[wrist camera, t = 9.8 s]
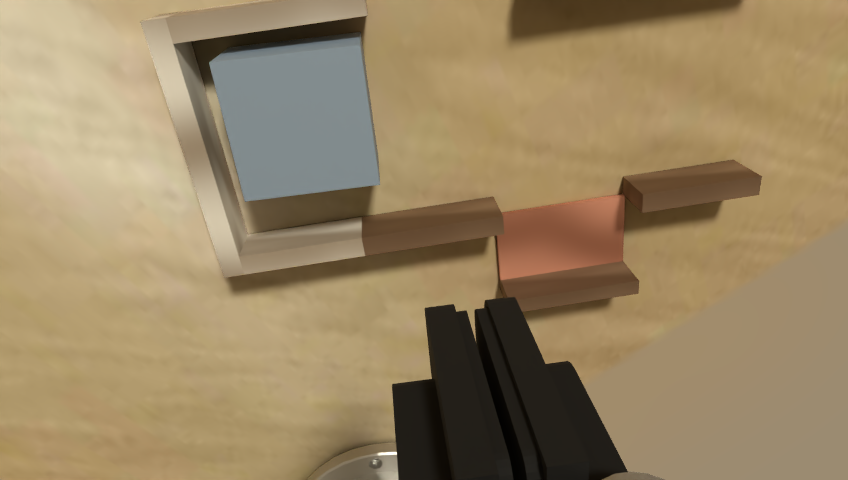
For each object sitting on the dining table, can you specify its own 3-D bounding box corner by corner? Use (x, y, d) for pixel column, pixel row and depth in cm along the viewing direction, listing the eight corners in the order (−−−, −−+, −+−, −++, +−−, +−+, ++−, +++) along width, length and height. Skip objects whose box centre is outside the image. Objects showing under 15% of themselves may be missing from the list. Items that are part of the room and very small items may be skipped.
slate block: (378, 155, 30) (379, 184, 26) (259, 170, 30) (244, 201, 26) (360, 31, 27) (360, 44, 24) (229, 46, 27) (208, 62, 23)
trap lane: (722, 254, 34) (747, 276, 32) (257, 327, 33) (249, 355, 31) (777, -203, 24) (818, -218, 22) (120, -112, 24) (94, -118, 21)
